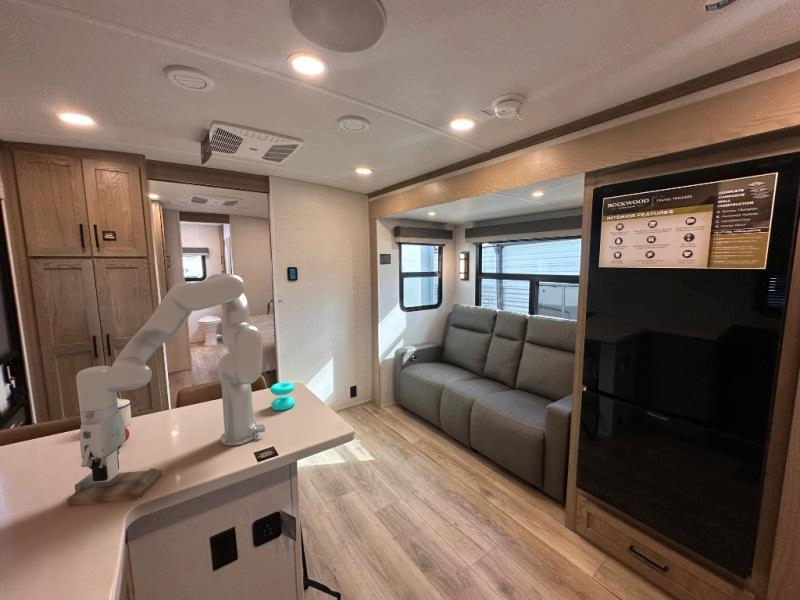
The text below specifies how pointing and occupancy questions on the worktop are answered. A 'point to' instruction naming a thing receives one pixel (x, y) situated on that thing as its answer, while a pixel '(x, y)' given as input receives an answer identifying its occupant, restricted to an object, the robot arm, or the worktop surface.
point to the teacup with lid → (125, 411)
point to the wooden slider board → (114, 488)
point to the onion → (126, 433)
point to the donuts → (285, 401)
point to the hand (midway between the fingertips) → (106, 474)
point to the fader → (110, 470)
